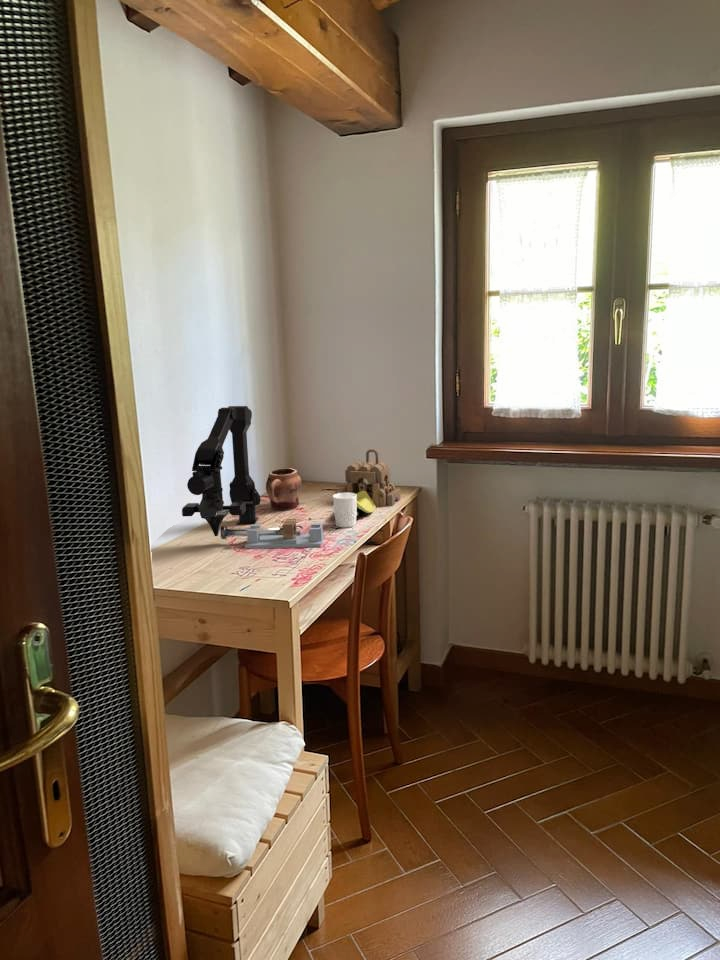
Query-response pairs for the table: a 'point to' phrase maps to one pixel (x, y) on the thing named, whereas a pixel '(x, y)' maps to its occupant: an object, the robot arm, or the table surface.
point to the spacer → (289, 529)
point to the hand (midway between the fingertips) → (216, 535)
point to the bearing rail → (277, 541)
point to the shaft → (243, 531)
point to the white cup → (345, 509)
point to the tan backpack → (371, 481)
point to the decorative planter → (283, 488)
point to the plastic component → (365, 502)
